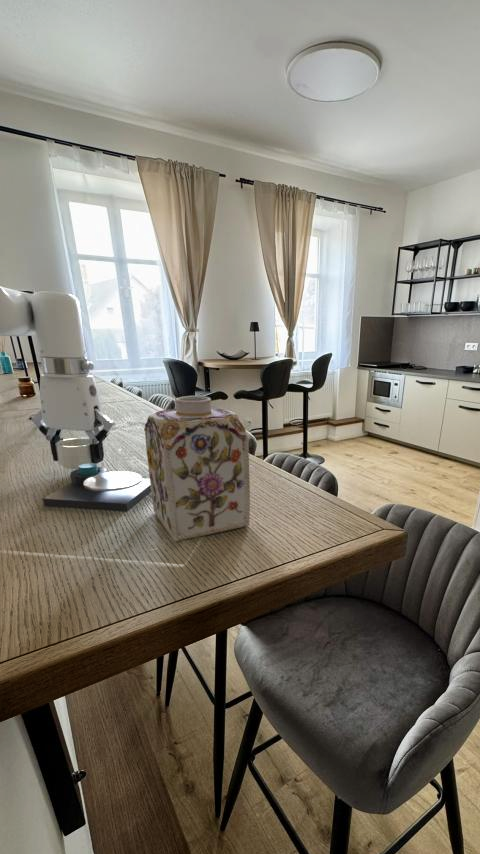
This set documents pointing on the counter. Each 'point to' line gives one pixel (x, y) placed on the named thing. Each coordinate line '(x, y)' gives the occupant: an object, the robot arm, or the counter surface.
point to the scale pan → (112, 481)
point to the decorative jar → (198, 468)
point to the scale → (96, 495)
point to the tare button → (88, 469)
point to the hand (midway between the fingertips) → (78, 460)
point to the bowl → (73, 452)
